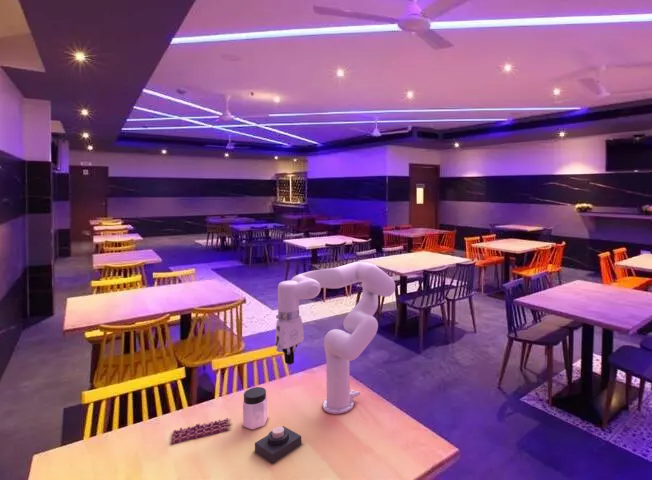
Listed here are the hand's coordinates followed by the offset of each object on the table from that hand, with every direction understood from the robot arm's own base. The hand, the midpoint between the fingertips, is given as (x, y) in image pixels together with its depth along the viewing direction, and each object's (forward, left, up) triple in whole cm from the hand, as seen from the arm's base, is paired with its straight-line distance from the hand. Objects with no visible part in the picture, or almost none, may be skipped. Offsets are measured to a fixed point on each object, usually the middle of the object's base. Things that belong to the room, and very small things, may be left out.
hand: (289, 362), depth 149 cm
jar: (+9, -12, -25) cm, 29 cm away
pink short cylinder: (+8, +8, -20) cm, 23 cm away
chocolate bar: (+26, -19, -26) cm, 41 cm away
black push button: (+8, +8, -25) cm, 28 cm away
